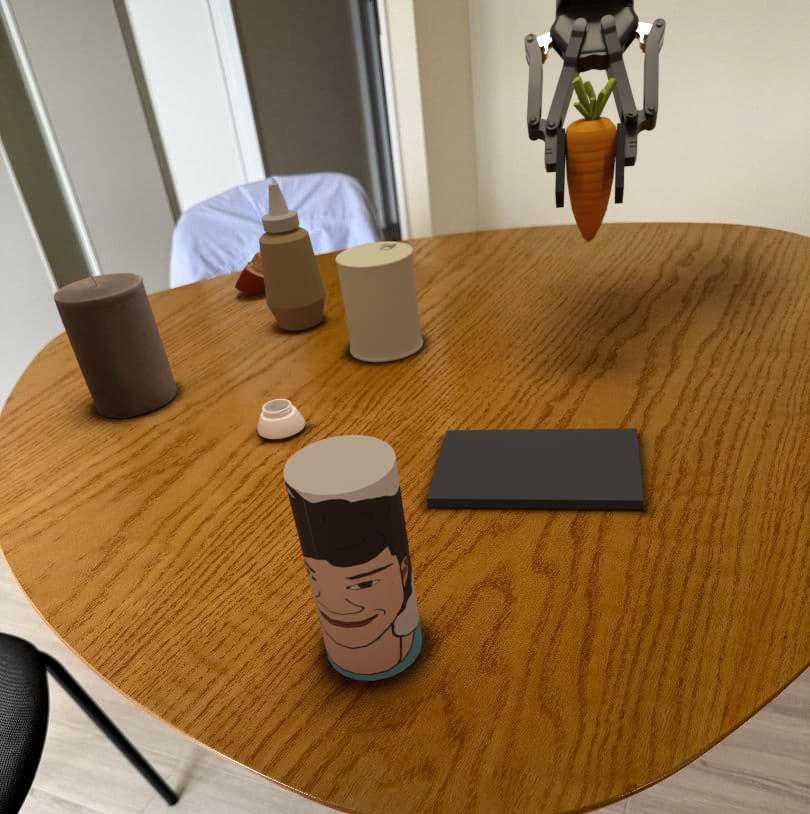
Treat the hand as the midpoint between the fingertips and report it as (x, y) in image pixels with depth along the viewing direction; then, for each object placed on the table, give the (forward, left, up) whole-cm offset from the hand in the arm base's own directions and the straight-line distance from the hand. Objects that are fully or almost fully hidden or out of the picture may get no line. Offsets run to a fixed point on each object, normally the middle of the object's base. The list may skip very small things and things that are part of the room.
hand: (589, 197), depth 74 cm
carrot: (0, -4, -5) cm, 7 cm away
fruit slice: (+49, -32, -18) cm, 62 cm away
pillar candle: (+52, +4, -18) cm, 56 cm away
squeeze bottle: (+38, -18, -18) cm, 46 cm away
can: (+24, -9, -18) cm, 32 cm away
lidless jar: (+31, +12, -18) cm, 38 cm away
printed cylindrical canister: (+14, +43, -18) cm, 49 cm away
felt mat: (+4, +20, -18) cm, 27 cm away
